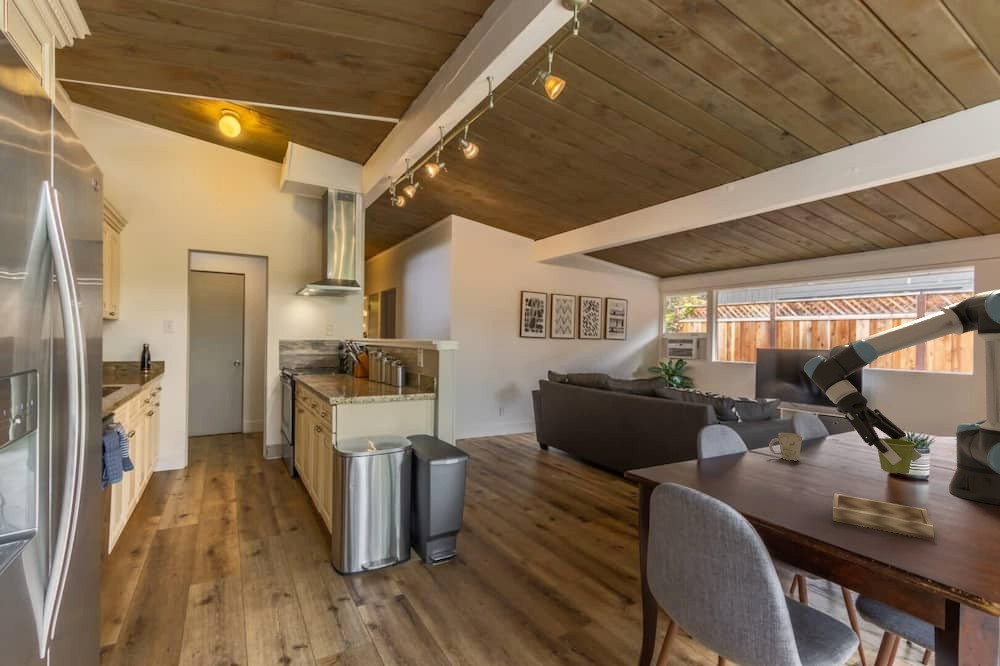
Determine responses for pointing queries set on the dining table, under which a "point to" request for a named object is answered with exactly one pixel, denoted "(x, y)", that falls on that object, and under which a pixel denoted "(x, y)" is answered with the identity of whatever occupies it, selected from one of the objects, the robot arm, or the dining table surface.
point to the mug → (788, 446)
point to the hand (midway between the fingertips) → (907, 460)
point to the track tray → (883, 516)
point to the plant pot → (902, 451)
